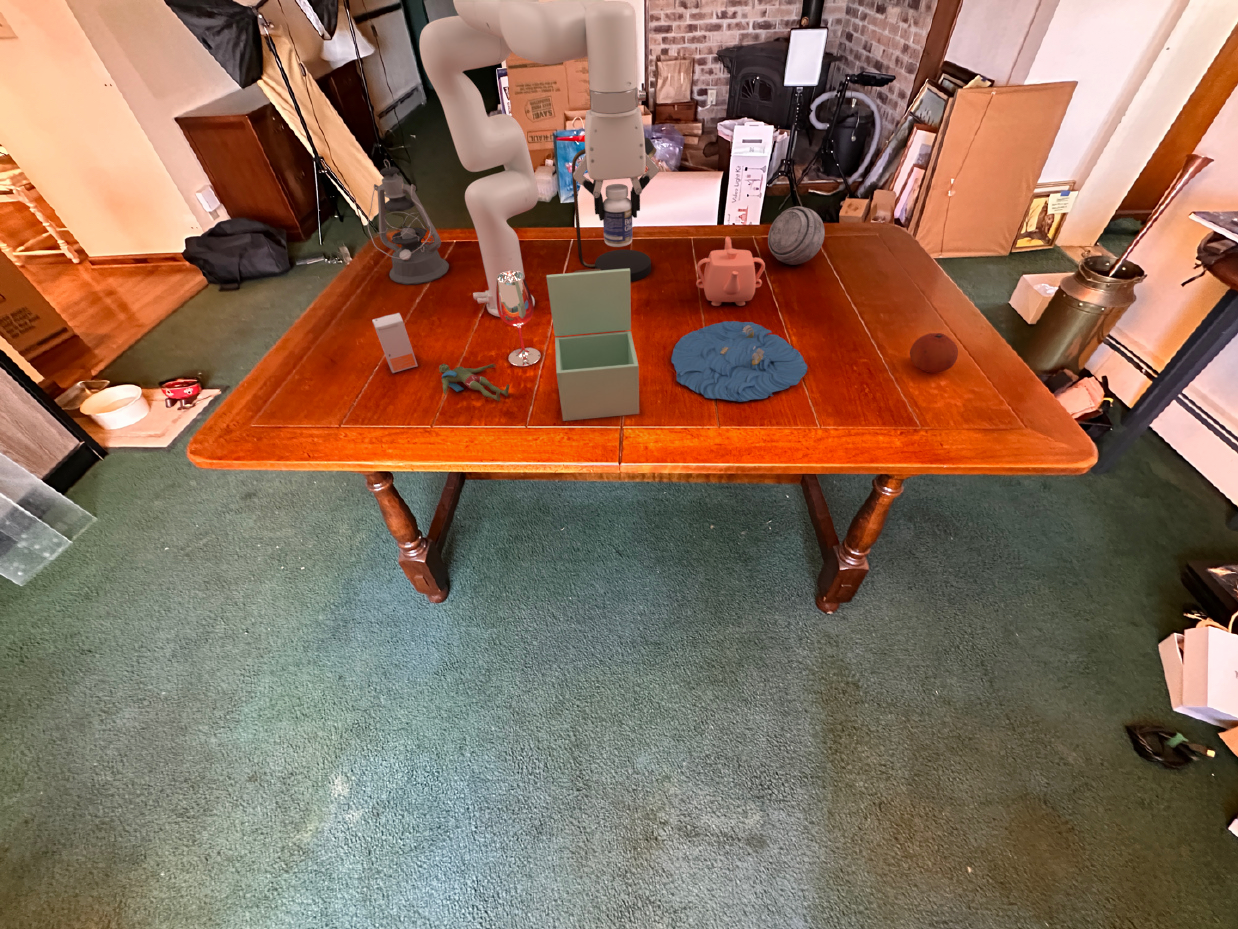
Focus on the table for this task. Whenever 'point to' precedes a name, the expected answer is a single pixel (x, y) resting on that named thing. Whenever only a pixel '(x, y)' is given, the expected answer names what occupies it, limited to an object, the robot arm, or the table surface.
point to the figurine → (469, 380)
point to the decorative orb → (796, 235)
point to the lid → (590, 301)
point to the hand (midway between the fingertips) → (617, 215)
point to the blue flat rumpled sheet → (736, 362)
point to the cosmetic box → (395, 342)
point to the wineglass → (516, 312)
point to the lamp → (616, 258)
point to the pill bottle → (617, 216)
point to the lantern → (407, 234)
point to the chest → (597, 375)
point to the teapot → (729, 275)
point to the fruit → (934, 352)
